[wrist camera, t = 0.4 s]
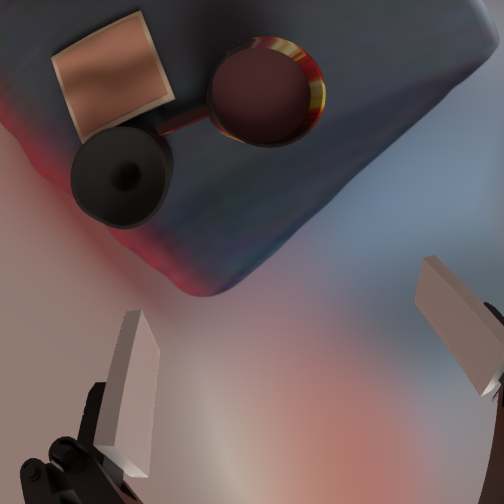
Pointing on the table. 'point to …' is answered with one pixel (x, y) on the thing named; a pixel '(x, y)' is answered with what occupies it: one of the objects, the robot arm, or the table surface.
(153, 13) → the table surface
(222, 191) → the table surface
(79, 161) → the pen holder
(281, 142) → the mug
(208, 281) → the table surface
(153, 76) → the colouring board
